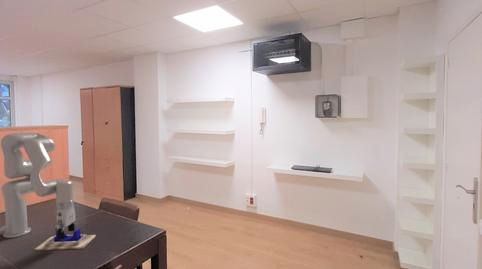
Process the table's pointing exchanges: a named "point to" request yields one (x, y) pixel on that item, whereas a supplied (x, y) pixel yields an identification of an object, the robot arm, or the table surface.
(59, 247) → the clip cradle
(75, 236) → the blue curved piece
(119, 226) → the table surface
